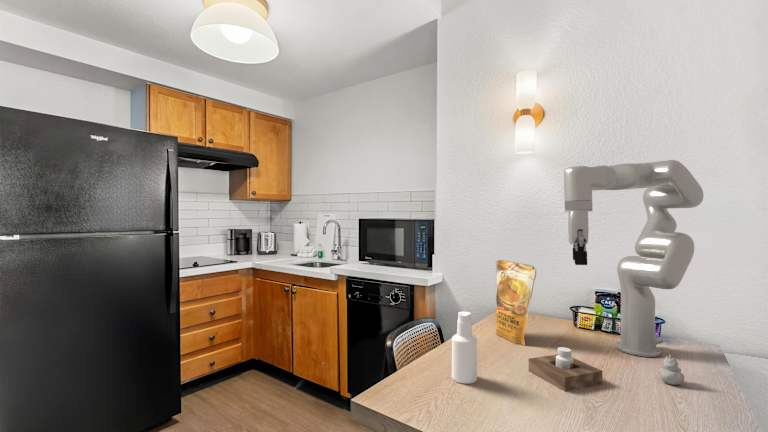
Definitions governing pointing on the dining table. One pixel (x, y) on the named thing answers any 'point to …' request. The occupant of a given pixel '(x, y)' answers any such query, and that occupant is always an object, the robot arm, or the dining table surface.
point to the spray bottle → (464, 351)
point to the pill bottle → (564, 358)
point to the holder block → (565, 373)
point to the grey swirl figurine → (671, 372)
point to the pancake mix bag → (513, 299)
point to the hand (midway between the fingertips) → (579, 262)
